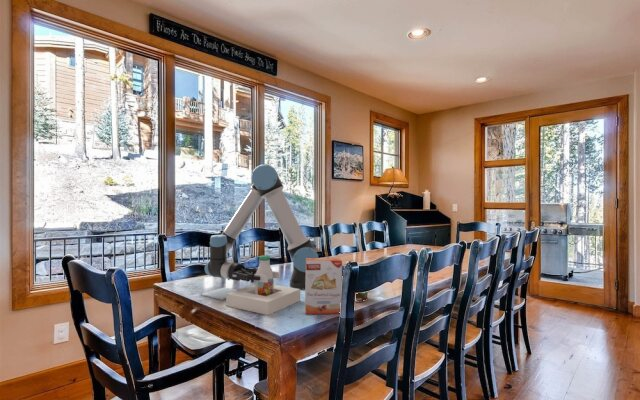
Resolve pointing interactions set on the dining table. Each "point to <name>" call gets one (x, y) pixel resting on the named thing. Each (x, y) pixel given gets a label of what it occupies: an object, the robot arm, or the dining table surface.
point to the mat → (218, 293)
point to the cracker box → (323, 285)
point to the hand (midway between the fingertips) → (273, 277)
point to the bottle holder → (263, 299)
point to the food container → (361, 296)
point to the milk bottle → (265, 269)
